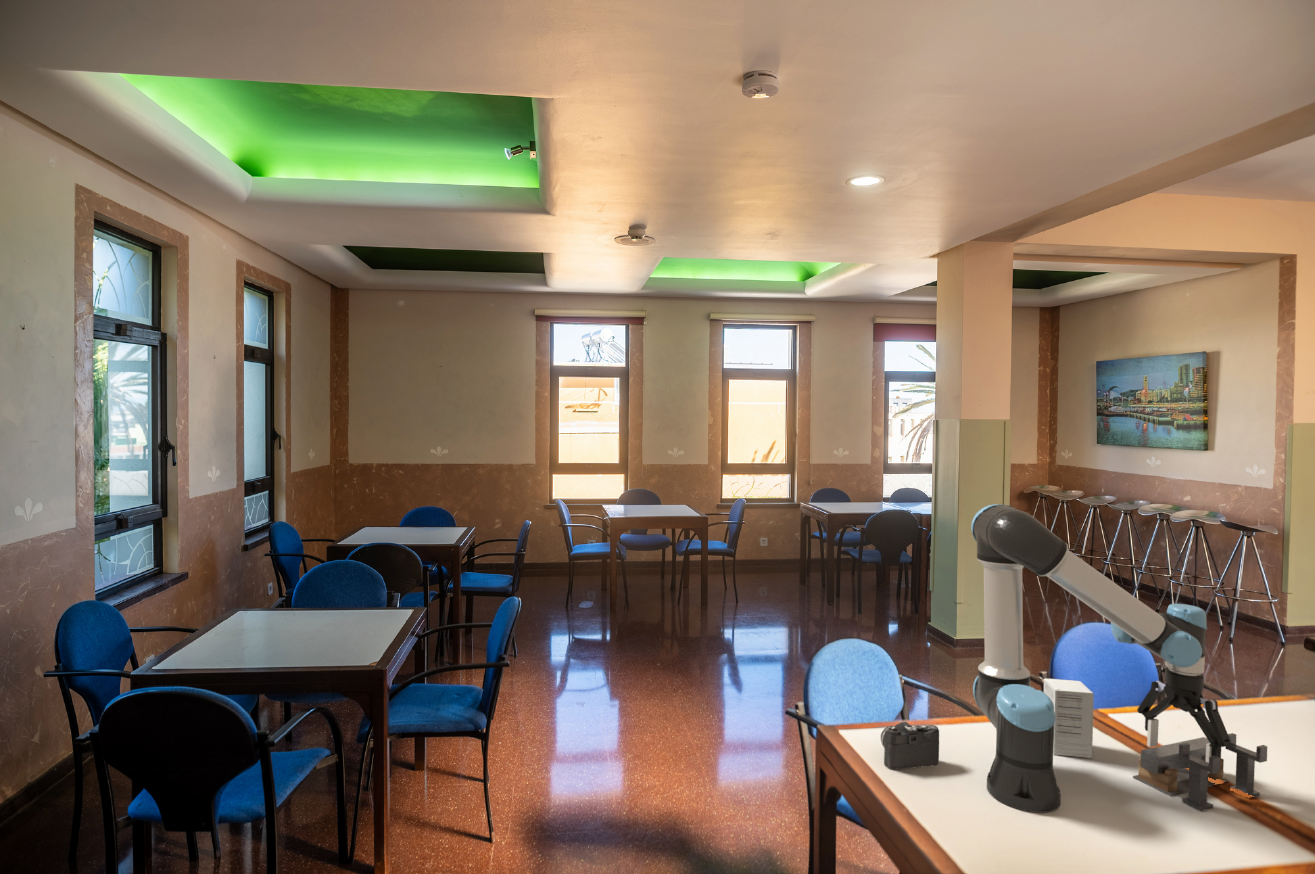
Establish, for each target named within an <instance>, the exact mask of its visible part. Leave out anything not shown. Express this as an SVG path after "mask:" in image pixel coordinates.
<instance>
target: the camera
mask: <svg viewBox="0 0 1315 874" xmlns="http://www.w3.org/2000/svg"><path fill="white" fill-rule="evenodd" d="M880 741H881V745H882V747H883V748H884V753H883V754H884V755H883V763H884V765H883V766H885V767H886V768H888V769H890V770H903V769H904V770H905V769H914V767H915V768H922V767H921V766H924V767H931V765H933V766H937V764H938V765H939V761H940V760H939V759H940V730H939V727H938V726H937V725H934V724H926V723H925V724H924V726H922V725H918V724H916V725H911V724H910V723H908V722H907V721H901V722H898V723H897V724H895V725H889V726H886V727H885V728H884V729H883V730H882V732H881V733H880Z"/></svg>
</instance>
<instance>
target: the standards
mask: <svg viewBox="0 0 1315 874" xmlns="http://www.w3.org/2000/svg"><path fill="white" fill-rule="evenodd" d="M1228 736H1229V738H1230V741H1231V743H1232V744H1231V745H1230V746H1225V747H1224V748H1225V750H1227V751H1230V752H1232V753H1235V754H1236V761H1235V764H1236V765H1235V784H1234V785H1231V786H1228V788H1233V789H1234V788H1235V789H1239V790H1241V791H1243V792H1244V793H1248V795H1252V796H1254V798H1257V797H1261V795H1260V794H1261V792H1260V791H1257V790H1255V789H1254V788H1255V770H1256V769H1255V768H1256V766H1255V765H1256V762H1257V763H1260V764H1261V763H1265V762H1267V761H1268V746H1267V745H1265V744H1261V745H1257V746H1256V748H1255V749H1256V751H1254V750H1251V749H1249V748H1246V747H1243V746H1241V745H1239V744H1237V734H1236V733H1233V732H1232V733H1228ZM1179 759H1180V760H1182V761H1184V762H1186V763H1189V764H1190V766H1189V792H1188V793H1187V794H1188V796H1187V797H1183V798H1181V802H1182V803H1183V804H1186V805H1187V806H1189V807H1191V808H1193V809H1195V810H1197V811H1199V812H1203V811H1207V810H1211V809H1214V804H1213V803H1211V802H1208V788H1207V785H1208V772H1209V773H1211V774H1215V773H1219V772H1220V757H1219V756H1217V755H1216V756H1211V757H1209V763H1208V762H1205V761H1203V760H1201V759H1198V758H1196V757H1194V756H1191V755H1190V744H1188V743H1183V744H1179ZM1237 791H1238V790H1237Z"/></svg>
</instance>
